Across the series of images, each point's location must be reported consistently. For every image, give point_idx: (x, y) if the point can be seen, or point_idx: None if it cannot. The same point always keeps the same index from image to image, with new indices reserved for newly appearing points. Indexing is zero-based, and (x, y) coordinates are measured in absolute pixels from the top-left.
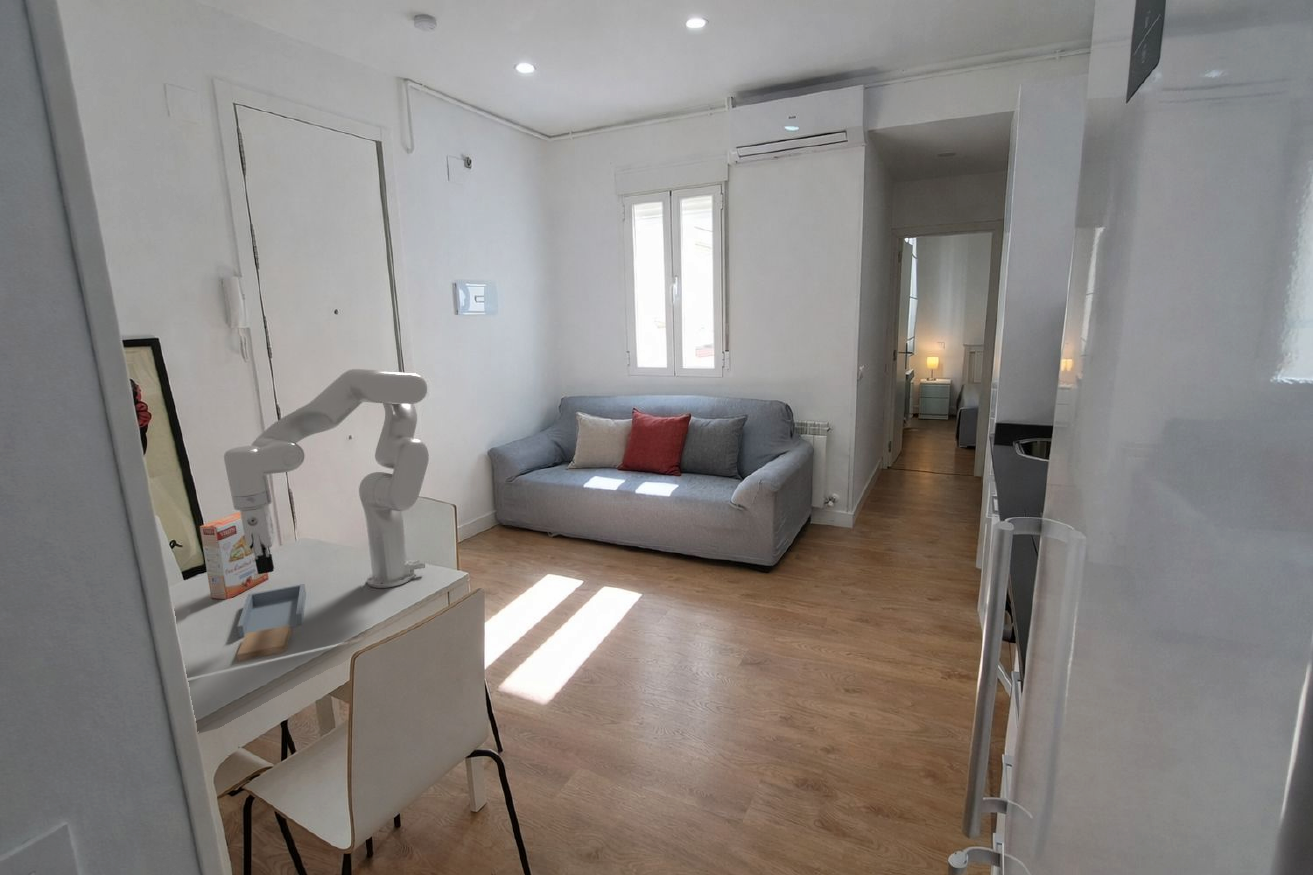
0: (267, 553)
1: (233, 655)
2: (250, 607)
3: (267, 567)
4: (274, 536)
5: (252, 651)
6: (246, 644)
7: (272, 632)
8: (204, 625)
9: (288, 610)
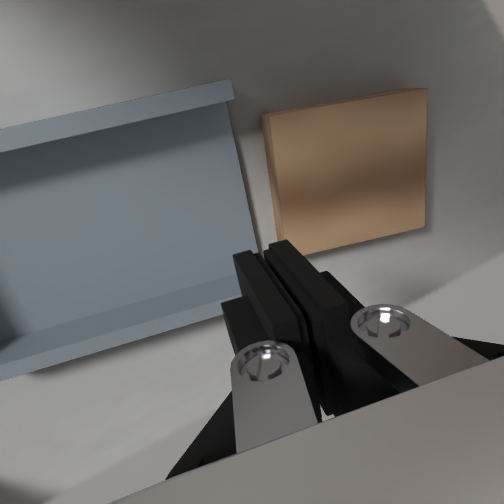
0: (434, 333)
1: (358, 251)
2: (62, 335)
3: (332, 280)
4: (311, 475)
5: (424, 186)
6: (369, 224)
7: (311, 166)
8: (126, 424)
9: (65, 185)
